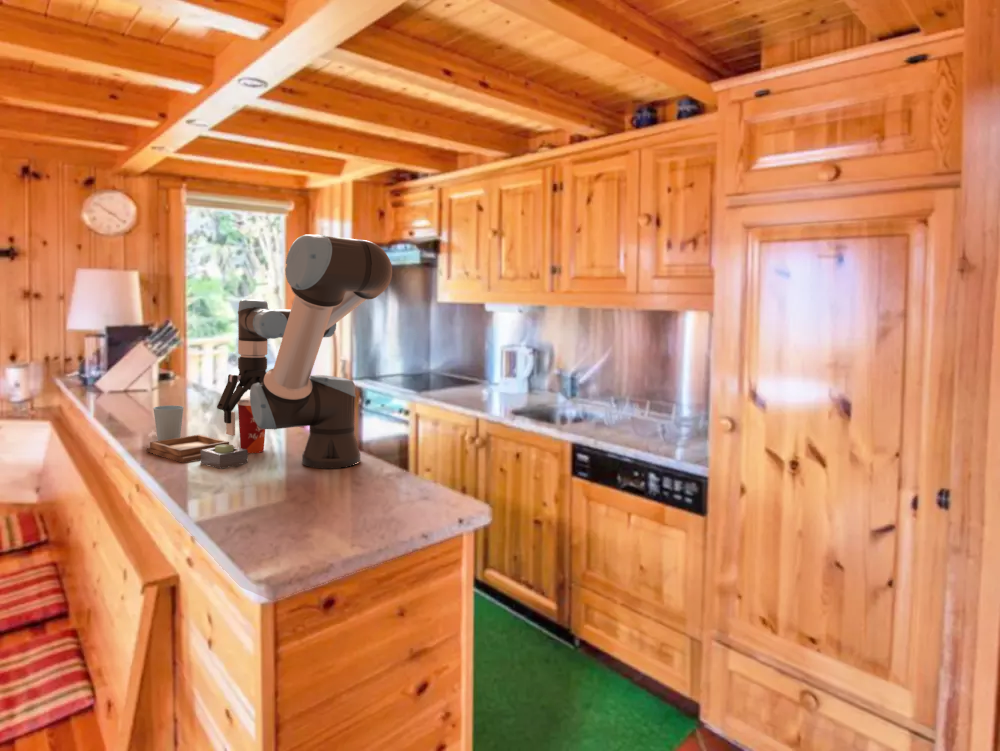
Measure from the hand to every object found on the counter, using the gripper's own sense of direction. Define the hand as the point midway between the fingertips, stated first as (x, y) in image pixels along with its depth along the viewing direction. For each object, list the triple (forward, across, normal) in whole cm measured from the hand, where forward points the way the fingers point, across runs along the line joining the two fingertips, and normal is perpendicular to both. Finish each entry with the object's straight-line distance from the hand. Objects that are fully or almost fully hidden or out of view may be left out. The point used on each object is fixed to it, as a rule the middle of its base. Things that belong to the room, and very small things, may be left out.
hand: (252, 431), depth 178 cm
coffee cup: (+6, 0, 0) cm, 6 cm away
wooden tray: (+6, +12, -10) cm, 16 cm away
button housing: (+5, +13, +6) cm, 16 cm away
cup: (+6, +10, -24) cm, 27 cm away
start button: (+5, +13, +6) cm, 15 cm away
